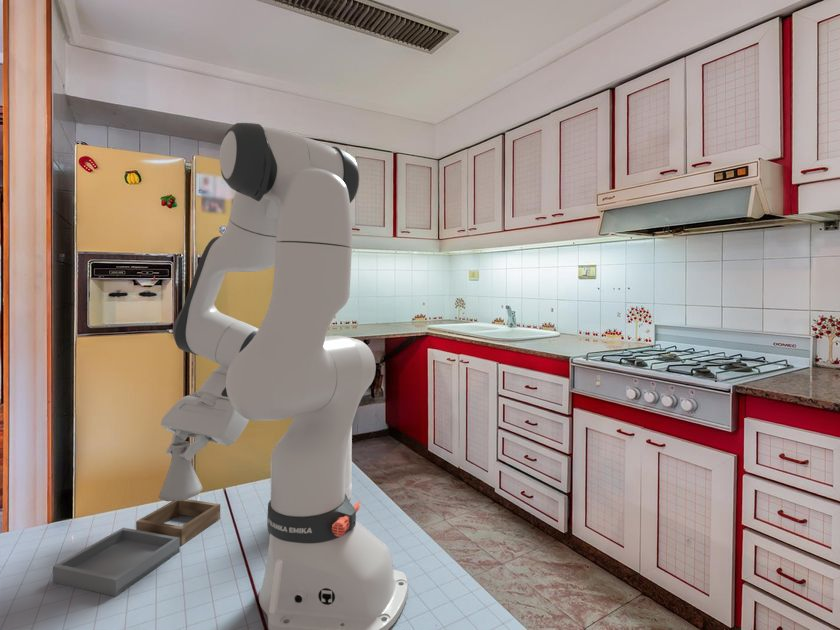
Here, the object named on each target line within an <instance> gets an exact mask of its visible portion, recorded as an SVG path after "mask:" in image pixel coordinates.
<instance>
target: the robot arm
mask: <svg viewBox="0 0 840 630" xmlns="http://www.w3.org/2000/svg"><path fill="white" fill-rule="evenodd" d="M219 165H220V166H219V167H220V172H221V176H222V180H224V182H225V183H226V184H227V185H228V187H229V188H231V189H232V190H233V191H235V194H234V197H233V200H232V204H231V207H230V213H229V219H228V223H227V226H226V228H225V230H224V231H223V233H222V234H221V235H218V236H215V237H213V238H212V239H210V241H209V242H208V243H207V245H206V247H205V248H204V250H203V252H202V255H201V256H200V259H199V262H198V264H197V267H196V270H195V273H194V276H193V278H192V281H191V284H190V287H189V289H188V292H187V296H186V299H185V301H184V304H183V306H182V308H181V310H180V312H179V314H178V315H177V317H176V319H175V321H174V324H173V326H172V335H173V340H174V342H175V344H176V346H177V347H178V349H179V350H181V351H183V352H187V353H189V354H190V353H191V354H193V355H196V356H199V357H202V358H204V359H206V360H208V361H211V362H214V363H215V364H218V365H219V366H218V367H217V368H215V369H214V370H213V371H212V373H211V374H210V375H209V376H208V377H207V378H206V380H205V381H204V382H203V384H202V385H201V386H200V388H199V389H198V390H197V391H196V392H192V393H190V394H189V395H186V396H183V397H181V398H180V399H179V400H177V402H176V403H174V405H173V406H172V407H171V408H170V409H169V410H168V411H167V412H166V414H164V416H163V417H162V419H161V422H160V425H161V427H162V428H163V429H165V430H166V431H168V432H169V433H173V435H172V438H171V443H170V445H171V444H173V443H175V442H179V441H187V438H193V439H194V441H193V442H192V443H190V445H189V446H188V448H186V447H185V448H184V449H183V451H182V452H181V453H180V457H182V458H183V459H185V460H190V461H191V460H192V459H193V457H195V454H197V453H198V452H200V451H201V450H202V449H204V448H205V447H206V446H207V444H208V443H209V442H210V443H214V444H219V445H224V446H227V447H230V446H232V445H233V444H234V443H235V442H236V441H237V440H238V439H239V438H240V436H241V435H242V433H243V432H244V431H245V429H246V427H247V426H248V423H249V422H250V421H252V422H253V421H254V422H256V421H257V422H259V421H260V422H265V421H266V422H269V421H270V422H271V421H281V420H283V421H284V420H287V419H291V418H292V419H291V422H290V424H289V426H288V428H287V430H286V432H284V434H283V435H282V436H281V437H280V439H279V440H278V441H277V442H276V444H275V446H274V447H273V450H272V452H271V455H270V500H269V501H268V504H267V515H266V517H267V520H266V521H267V523H266V527H267V531H268V532H267V533H268V535H269V539H268V540H269V541H268V550H267V551H268V553H267V559H266V565H265V566H266V567H265V570H264V575H263V576H264V577H263V580H262V584H261V587H260V591H259V594H258V602H259V604H260V608H261V609H262V610H263V612H264V613H265V614H266V616H267V627H268V630H390V629H391V628H392V626H394V624H395V623H396V621H397V620H398V618H399V617H400V615H401V613H402V611H403V609H404V607H405V604H406V602H407V598H408V594H409V585H408V579H407V576H406V574H405V572H403V571H400V570H397V569H394V564H393V558H392V554H391V551H390V549H389V547H388V545H387V544H385V542H383V541H381V540H380V539H379V538H378V537H376V536H375V534H373V533H372V532H371V531H370V530H369V529H368V528H366V527H365V526H363V525H362V524H361V523H360V522H359V521H358V520H356V519H357V515H356V514H357V513H358V511H359V510H360V503H361V501H360V500H358V501H357V502H356V503H355V504H354V505H353V504H352V503H351V502H350V500H348V497H347V495H346V494H345V467H346V450H347V443H348V438H349V434H350V430H351V427H352V428H353V423H354V419H355V416H356V413H357V411H358V408H359V405H360V403H361V400H362V398H363V397H364V395H365V394H366V392H367V390H368V389H369V387H370V386H371V385H372V383H373V381H374V379H375V376H376V369H377V365H376V360H375V355H374V353H373V352H372V350H371V348H370V347H369V346H368V345H367V344H366V343H365V342H363V341H362V340H360V339H356V338H353V337H349V336H343V335H327V334H328V331H329V328H330V326H331V324H332V322H333V320H334V318H335V317H336V315H337V313H338V312H339V311H340V310H342V309H343V308H344V307H345V306H346V304H347V303H348V300H349V298H350V294H351V293H350V291H351V275H352V274H351V271H352V269H351V268H352V251H353V249H352V248H353V223H352V221H353V220H352V209H351V203H352V202H353V200H354V199H356V195H357V193H358V190H359V186H360V171H359V167H358V163H357V162H356V159H355V158H354V157H353V156H352V155H351V154H349V152H347V151H345V150H343V149H341V148H339V147H337V146H330V145H327V144H325V143H322V142H321V141H317V140H315V139H313V138H309V137H306V136H303V135H302V134H300V133H296V132H293V131H289V130H283V129H278V128H273V127H266V126H265V127H264V126H262V124H259V123H256V122H255V123H253V122H236V123H234V124H232V126H231V127H229V128H228V129H227V131H226V132H225V135H224V137H223V139H222V143H221V145H220V149H219ZM273 267H274V269H273V280H272V281H273V285H272V291H271V292H272V293H271V297H270V300H269V304H268V308H267V311H266V313H265V316H264V318H263V320H262V322H261V324H260V325H259V326H260V327H256V326H254V325H252V324H249V323H247V322H244V321H242V320H240V319H239V320H238V319H237V318H234V317H233V316H230V315H227V314H226V313H225V314H224V313H222V312H220V311H219V310H218V309H217V307H216V305H215V302H216V300H217V298H218V297H217V296H218V294H219V292H220V289H221V287H222V284H223V281H224V279H225V277H226V274H227V273H230V272H231V273H232V272H233V273H234V272H235V273H237V272H239V273H254V272H255V273H256V272H260V271H266V270H269V269H271V268H273ZM170 445H169V446H168V447H167V449H166V450H165V452H166V454H168V455H169V456H171V457H172V448H171V447H170Z"/></svg>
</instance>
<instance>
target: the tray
mask: <svg viewBox="0 0 840 630" xmlns="http://www.w3.org/2000/svg"><path fill="white" fill-rule="evenodd" d="M180 546H181V545H180V538H179V537H173V536H168V535H162V534H157V533H151V532H145V531H140V530H136V529H133V528H128V527H122V528H120V529H118V530H115V532H112V533H111V534H109V535H107V536H106V537H104V538H102V539H100V540H98V541H96V542H94V543H93V544H91V545H88V546H87V547H86V548H84V549H82V550H80V551H78V552H77V553H75V554H72V555H71V556H69V557H67V558H65V559H64V560H62V561H60V562H58V563H56V564H55V565H53V566H52V582H53V583H56V584H60V585H64V586H70V587H74V588H77V589H82V590H86V591H91V592H95V593H100V594H104V595H108V596H113V597H118V596H119V595H120V594H121V593H123V592H125V591H126V590H128V589H129V588H130V587H131V586H133V585H135V584H136V583H137V582H138V581H140V580H142V579H143V578H144V577H145V576H146V577H147V575H148V574H150V573H151V572H153V571H154V570H156V569H157V568H159V567H160V566H161V565H162V564H164V563H166V562H168V560H170V559H171V558H172V557H174V556H176V555H177V554H178V553H180V548H181V547H180Z"/></svg>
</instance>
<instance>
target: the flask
mask: <svg viewBox="0 0 840 630" xmlns="http://www.w3.org/2000/svg"><path fill="white" fill-rule="evenodd" d="M190 445H191V441H187V440H185V441H179V442H175V443H173V444H171V443H170V445H169V446H170V447H171V448H172V456H171V459H170V460H171V461H170V466H169V468H168V470H167V473H166V476H165V480H164V481H163V484H162V487H161V490H160V492H159V495H158V499H159V500H163V501H165V502H172V501H184V500H186V499H191V498H193V497H195V496H198V495H199V494H200V493H201V492H202V491H203V489H204V488H203V486H202V484H201V481H200V479H199V477H198V476H197V474H196V473H197V472H196V471H195V468H194V466H193V464H192V462H191V460H185V459H183V458H182V457H180V453H181V452H182V451H183V449H184V448H185V447H186V448H188V447H189V446H190Z"/></svg>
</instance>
